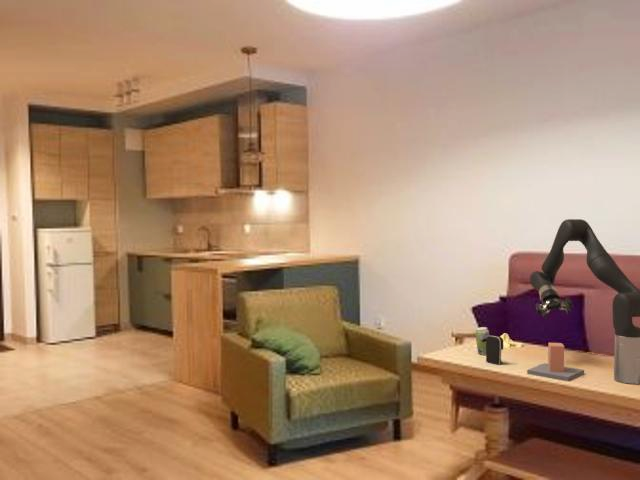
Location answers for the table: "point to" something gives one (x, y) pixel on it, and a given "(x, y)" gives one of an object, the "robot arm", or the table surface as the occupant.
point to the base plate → (545, 372)
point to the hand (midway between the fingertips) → (557, 314)
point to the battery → (494, 349)
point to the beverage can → (481, 339)
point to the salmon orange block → (556, 357)
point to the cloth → (509, 342)
